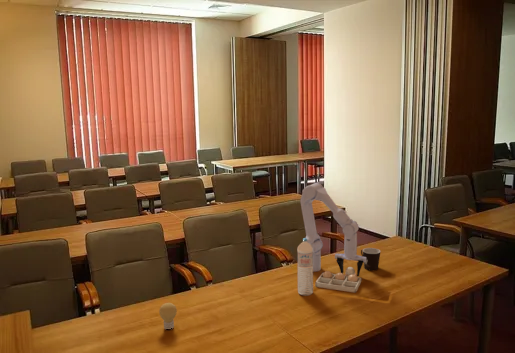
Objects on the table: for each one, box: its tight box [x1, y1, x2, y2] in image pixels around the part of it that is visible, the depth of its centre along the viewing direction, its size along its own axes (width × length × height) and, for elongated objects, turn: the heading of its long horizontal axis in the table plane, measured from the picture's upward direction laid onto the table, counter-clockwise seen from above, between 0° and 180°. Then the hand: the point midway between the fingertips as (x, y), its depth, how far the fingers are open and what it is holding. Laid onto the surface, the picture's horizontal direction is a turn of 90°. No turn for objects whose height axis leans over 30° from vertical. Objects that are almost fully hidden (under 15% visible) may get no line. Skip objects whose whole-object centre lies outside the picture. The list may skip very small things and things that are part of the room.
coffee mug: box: [360, 247, 381, 271], centre depth 219 cm, size 12×9×10 cm
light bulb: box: [158, 302, 178, 330], centre depth 166 cm, size 6×6×10 cm
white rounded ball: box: [345, 266, 356, 276], centre depth 209 cm, size 4×4×4 cm
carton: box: [314, 270, 362, 294], centre depth 200 cm, size 18×12×5 cm
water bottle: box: [296, 237, 314, 297], centre depth 192 cm, size 7×7×25 cm
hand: (350, 274), depth 209 cm, fingers open, 7 cm apart
